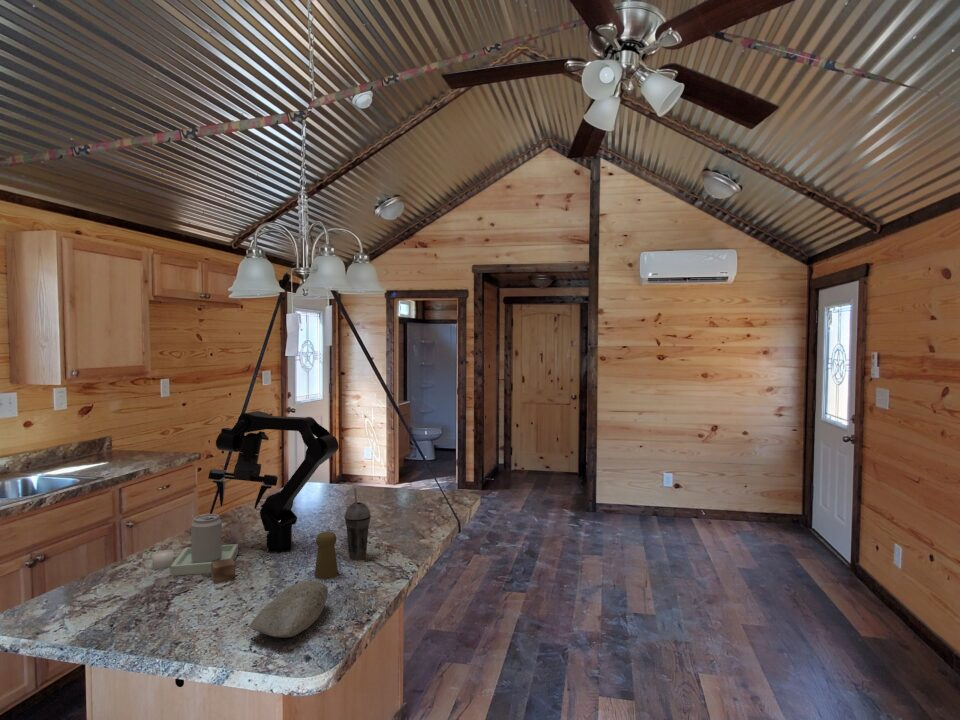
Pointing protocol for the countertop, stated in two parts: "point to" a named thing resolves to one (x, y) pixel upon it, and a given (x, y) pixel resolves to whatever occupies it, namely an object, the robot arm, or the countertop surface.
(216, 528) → the can
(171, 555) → the off-white egg
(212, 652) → the countertop surface
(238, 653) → the countertop surface
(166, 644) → the countertop surface
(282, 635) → the rock
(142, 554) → the countertop surface
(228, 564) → the walnut block
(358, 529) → the beverage cup
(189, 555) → the tray
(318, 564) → the cork
